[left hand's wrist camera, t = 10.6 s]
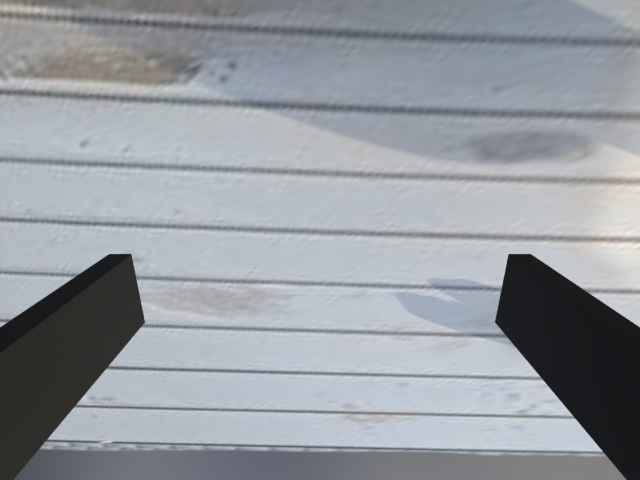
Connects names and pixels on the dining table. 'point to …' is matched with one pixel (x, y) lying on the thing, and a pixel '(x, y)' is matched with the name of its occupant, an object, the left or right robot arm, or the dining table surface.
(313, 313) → the dining table surface
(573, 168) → the dining table surface
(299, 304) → the dining table surface
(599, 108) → the dining table surface
